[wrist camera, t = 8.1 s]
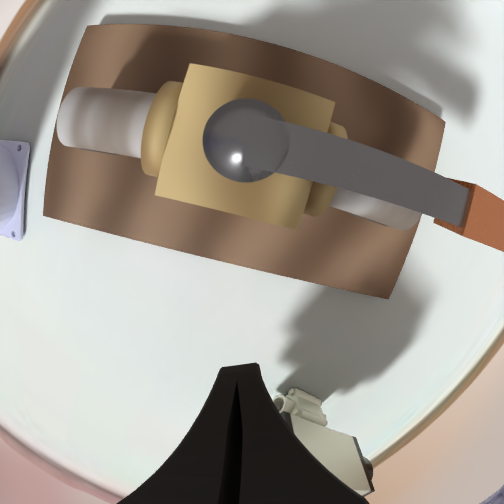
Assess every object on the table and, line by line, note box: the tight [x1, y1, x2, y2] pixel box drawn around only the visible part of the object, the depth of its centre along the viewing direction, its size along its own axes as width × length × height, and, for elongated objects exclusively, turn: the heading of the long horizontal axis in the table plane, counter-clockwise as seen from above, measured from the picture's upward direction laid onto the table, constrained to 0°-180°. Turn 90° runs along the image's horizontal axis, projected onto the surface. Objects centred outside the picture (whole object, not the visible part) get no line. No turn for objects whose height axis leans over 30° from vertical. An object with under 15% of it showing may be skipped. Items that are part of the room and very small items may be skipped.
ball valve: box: [43, 24, 445, 299], centre depth 13 cm, size 26×14×7 cm, turn 75°
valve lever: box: [203, 98, 504, 252], centre depth 10 cm, size 15×3×2 cm, turn 78°
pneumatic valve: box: [272, 388, 375, 497], centre depth 19 cm, size 6×12×12 cm, turn 51°
